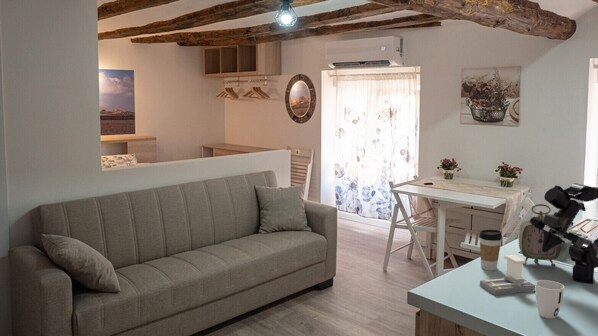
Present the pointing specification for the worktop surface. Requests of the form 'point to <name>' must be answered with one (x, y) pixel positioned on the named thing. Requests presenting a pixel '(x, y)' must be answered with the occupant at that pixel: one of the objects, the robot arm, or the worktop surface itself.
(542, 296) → the cup
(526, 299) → the worktop surface
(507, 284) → the fader console
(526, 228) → the tabletop clock
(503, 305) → the worktop surface
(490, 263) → the coffee cup
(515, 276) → the plate
